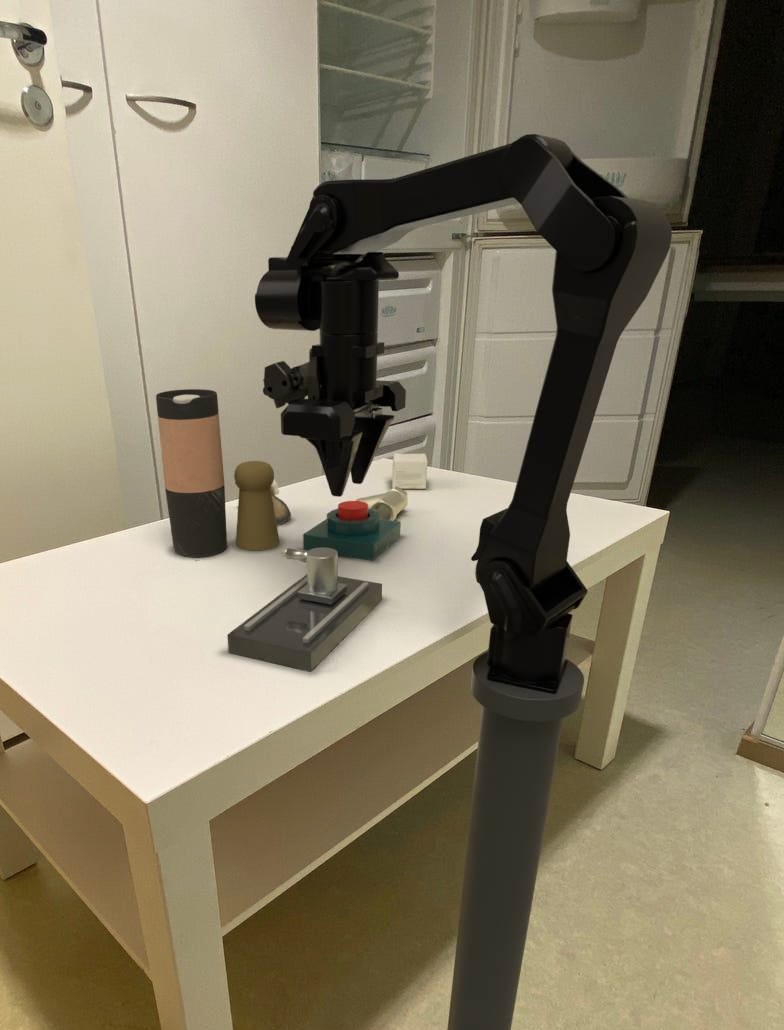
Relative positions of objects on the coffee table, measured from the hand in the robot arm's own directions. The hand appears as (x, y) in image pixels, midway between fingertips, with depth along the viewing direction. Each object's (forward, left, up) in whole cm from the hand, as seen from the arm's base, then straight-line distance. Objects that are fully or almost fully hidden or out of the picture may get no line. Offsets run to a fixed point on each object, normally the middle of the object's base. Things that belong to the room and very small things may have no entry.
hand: (347, 489), depth 78 cm
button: (+6, -15, -8) cm, 19 cm away
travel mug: (+24, -6, -12) cm, 27 cm away
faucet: (+1, +6, -10) cm, 12 cm away
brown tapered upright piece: (+18, -11, -12) cm, 24 cm away
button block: (+6, -16, -12) cm, 20 cm away
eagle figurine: (+23, -22, -12) cm, 34 cm away
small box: (+9, -47, -12) cm, 49 cm away
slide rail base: (0, +9, -12) cm, 15 cm away
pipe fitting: (+7, -28, -12) cm, 31 cm away
